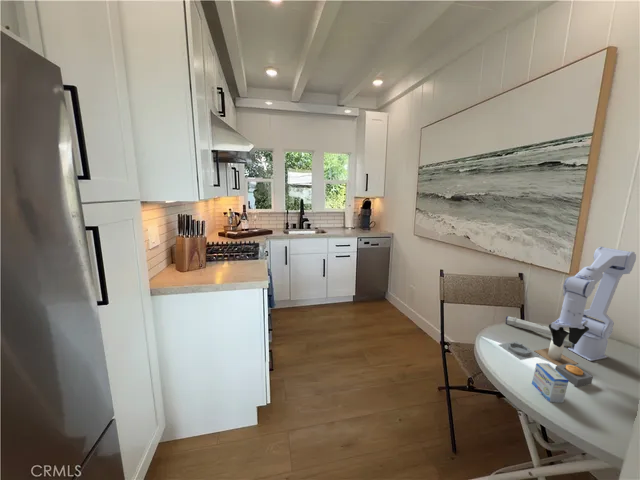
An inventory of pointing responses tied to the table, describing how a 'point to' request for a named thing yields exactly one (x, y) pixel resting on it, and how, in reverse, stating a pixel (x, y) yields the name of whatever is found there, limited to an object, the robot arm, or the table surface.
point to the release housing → (573, 379)
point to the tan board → (557, 362)
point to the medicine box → (550, 382)
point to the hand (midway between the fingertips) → (564, 344)
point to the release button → (574, 370)
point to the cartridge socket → (519, 350)
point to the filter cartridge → (555, 350)
